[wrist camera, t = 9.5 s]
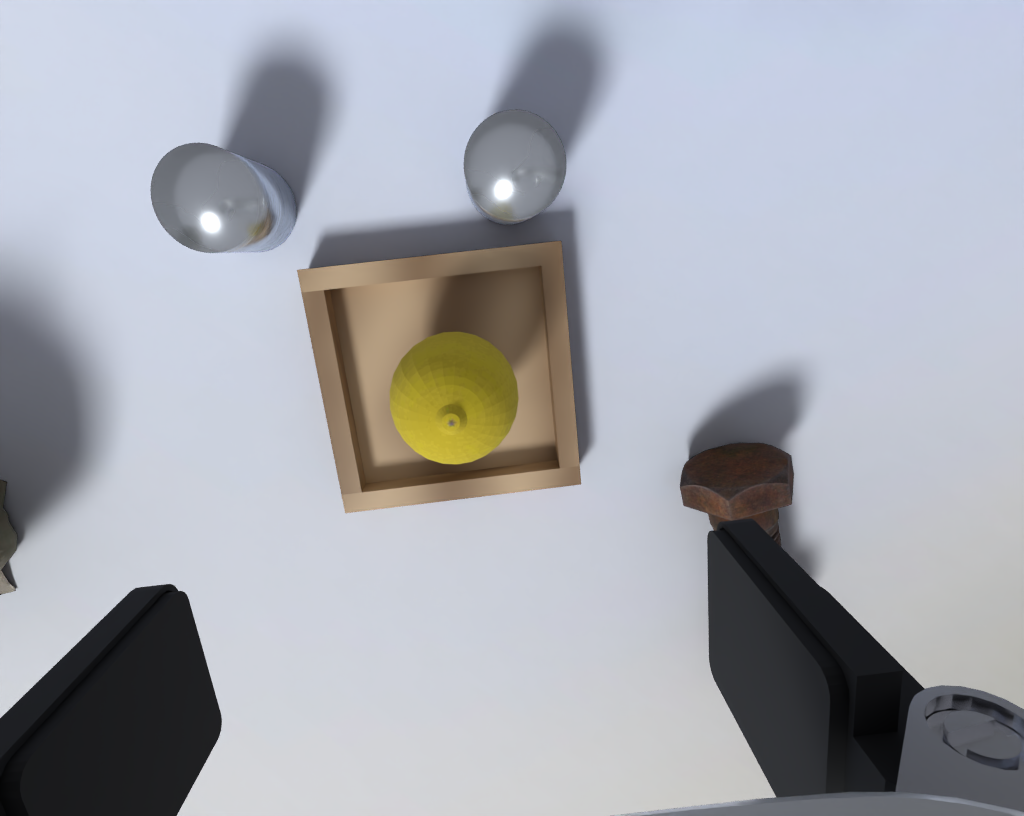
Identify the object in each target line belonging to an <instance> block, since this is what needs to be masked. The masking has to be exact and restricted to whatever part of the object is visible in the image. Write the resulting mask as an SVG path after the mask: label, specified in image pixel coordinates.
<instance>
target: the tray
mask: <svg viewBox="0 0 1024 816" xmlns="http://www.w3.org/2000/svg"><path fill="white" fill-rule="evenodd" d="M297 272H298V277H299V282H300V287H301V292H302V297H303V303H304V308H305V313H306V318H307V323H308V328H309V333H310V338H311V343H312V348H313V353H314V358H315V363H316V368H317V373H318V378H319V383H320V388H321V393H322V398H323V403H324V408H325V413H326V418H327V423H328V428H329V434H330V439H331V444H332V449H333V454H334V459H335V464H336V469H337V474H338V479H339V484H340V489H341V494H342V499H343V504H344V509H345V513H351V512H359V511H367V510H375V509H384V508H392V507H400V506H408V505H416V504H424V503H433V502H441V501H449V500H457V499H465V498H473V497H482V496H490V495H498V494H506V493H514V492H522V491H530V490H539V489H547V488H555V487H563V486H571V485H579V484H581V477H580V465H579V452H578V440H577V428H576V415H575V403H574V391H573V379H572V366H571V354H570V342H569V330H568V317H567V305H566V293H565V280H564V268H563V256H562V244H561V241H554V242H545V243H536V244H527V245H518V246H509V247H500V248H491V249H482V250H472V251H463V252H454V253H445V254H436V255H427V256H418V257H409V258H400V259H391V260H382V261H373V262H364V263H355V264H346V265H337V266H328V267H319V268H310V269H302V270H297ZM443 332H463V333H468V334H473V335H476V336H478V337H480V338H482V339H484V340H487V341H489V342H490V343H491V344H492V345H493V346H495V347H496V348H497V349H498V350H499V351H500V352H502V354H503V355H504V357H505V358H506V359H507V361H508V362H509V364H510V365H511V367H512V370H513V372H514V375H515V378H516V380H517V387H518V397H519V400H518V407H517V413H516V417H515V420H514V422H513V424H512V427H511V429H510V431H509V433H508V434H507V436H506V437H505V438H504V439H503V441H502V442H501V443H500V444H499V446H498V447H496V448H495V449H494V450H492V451H491V452H490V453H488V454H487V455H486V456H484V457H481V458H479V459H477V460H475V461H473V462H468V463H462V464H442V463H439V462H436V461H432V460H429V459H427V458H425V457H423V456H422V455H420V454H418V453H417V452H415V451H414V450H413V449H412V448H411V447H410V446H409V445H408V444H407V443H406V442H405V441H404V440H403V438H402V437H401V435H400V433H399V432H398V430H397V429H396V427H395V424H394V421H393V418H392V414H391V411H390V387H391V382H392V378H393V374H394V372H395V370H396V368H397V366H398V365H399V363H400V361H401V359H402V358H403V357H404V356H405V355H406V354H407V353H408V351H409V350H410V349H411V348H412V347H413V346H415V345H416V344H418V343H419V342H421V341H423V340H424V339H426V338H427V337H430V336H433V335H437V334H440V333H443Z"/></svg>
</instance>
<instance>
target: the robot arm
mask: <svg viewBox="0 0 1024 816" xmlns="http://www.w3.org/2000/svg"><path fill="white" fill-rule="evenodd" d="M707 544H708V615H709V662H710V667H711V671H712V675H713V678H714V680H715V682H716V684H717V686H718V688H719V690H720V691H721V693H722V695H723V697H724V699H725V701H726V703H727V705H728V707H729V708H730V710H731V712H732V714H733V716H734V718H735V720H736V722H737V723H738V725H739V727H740V729H741V731H742V733H743V735H744V737H745V739H746V740H747V742H748V744H749V746H750V748H751V750H752V752H753V754H754V756H755V757H756V759H757V761H758V763H759V765H760V767H761V769H762V771H763V773H764V774H765V776H766V778H767V780H768V782H769V784H770V786H771V788H772V789H773V791H774V793H775V795H776V797H777V798H764V799H752V800H744V801H735V802H726V803H717V804H709V805H700V806H691V807H682V808H673V809H665V810H656V811H647V812H638V813H630V814H621V815H612V816H1024V709H1022V708H1020V707H1018V706H1017V705H1015V704H1013V703H1011V702H1009V701H1007V700H1005V699H1003V698H1000V697H997V696H995V695H992V694H989V693H987V692H984V691H980V690H976V689H971V688H966V687H962V686H942V685H941V686H936V687H931V688H926V689H924V688H923V687H922V686H921V685H920V684H919V683H918V682H917V681H916V680H915V679H914V678H913V677H912V676H911V675H910V674H909V673H908V672H907V671H906V670H905V669H904V668H903V667H902V666H901V665H900V664H899V663H898V662H897V661H896V660H895V659H894V658H893V657H892V656H891V655H890V654H889V653H888V652H887V651H886V650H885V649H884V648H883V647H882V646H881V645H880V644H879V643H878V642H877V641H876V640H875V639H874V638H873V637H872V636H871V635H870V634H869V633H868V632H867V631H866V630H865V629H864V628H863V627H862V626H861V625H860V624H859V623H858V621H857V620H856V619H855V618H854V617H853V616H852V615H851V614H850V613H849V612H848V611H847V610H846V609H845V608H844V607H843V606H842V605H841V604H840V603H839V602H838V601H837V600H836V599H835V598H834V597H833V596H832V595H831V594H830V593H829V592H827V591H826V590H825V589H823V588H822V587H820V586H819V585H818V584H817V583H816V582H815V581H814V580H813V579H812V578H811V577H810V576H809V575H808V574H807V573H806V572H805V571H804V570H803V569H802V568H801V567H800V566H799V565H798V564H797V563H796V562H795V561H794V560H793V559H792V558H791V557H790V556H789V555H788V554H787V553H786V552H785V551H784V550H783V549H782V548H781V547H780V546H779V545H778V544H777V543H776V542H775V541H774V540H773V539H772V538H771V537H770V535H769V534H768V533H767V532H766V531H765V530H764V529H763V528H762V527H761V526H760V525H759V524H758V523H757V522H756V521H755V520H753V519H752V518H751V519H741V520H732V521H723V522H719V523H718V525H717V530H716V531H710V532H709V533H708V540H707ZM221 725H222V718H221V713H220V709H219V706H218V702H217V699H216V695H215V691H214V688H213V684H212V681H211V677H210V674H209V670H208V667H207V663H206V659H205V656H204V652H203V649H202V645H201V642H200V638H199V635H198V631H197V627H196V624H195V620H194V617H193V613H192V610H191V606H190V603H189V599H188V597H187V595H186V594H185V592H183V591H178V589H177V588H176V587H175V586H174V585H171V584H166V585H157V586H148V587H140V588H135V589H134V590H132V591H131V592H130V593H129V594H128V595H127V596H126V597H125V598H124V599H123V600H122V601H120V602H119V603H118V604H117V605H116V606H115V607H114V608H113V609H112V610H111V611H110V612H109V613H108V614H107V615H106V616H105V617H104V618H103V619H102V620H101V621H100V622H99V623H98V624H97V625H96V626H95V627H94V628H93V629H92V630H91V631H90V632H89V633H88V634H87V635H86V636H85V637H84V638H82V639H81V640H80V641H79V642H78V643H77V644H76V645H75V646H74V647H73V648H72V649H71V650H70V651H69V652H68V653H67V654H66V655H65V656H64V657H63V658H62V659H61V660H60V661H59V662H58V663H57V664H56V665H55V666H54V667H53V668H52V669H51V670H50V671H49V672H48V673H47V674H46V675H44V676H43V677H42V678H41V679H40V680H39V681H38V682H37V683H36V684H35V685H34V686H33V687H32V688H31V689H30V690H29V691H28V692H27V693H26V694H25V695H24V696H23V697H22V698H21V699H20V700H19V701H18V702H17V703H16V704H15V705H14V706H13V707H12V708H11V709H10V710H9V711H8V712H6V713H5V714H4V715H3V716H2V717H1V718H0V816H177V814H178V812H179V810H180V808H181V806H182V805H183V803H184V801H185V799H186V797H187V795H188V793H189V792H190V790H191V788H192V786H193V784H194V782H195V781H196V779H197V777H198V775H199V773H200V771H201V770H202V768H203V766H204V764H205V762H206V760H207V758H208V757H209V755H210V753H211V751H212V749H213V747H214V746H215V744H216V742H217V740H218V738H219V735H220V731H221Z"/></svg>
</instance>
